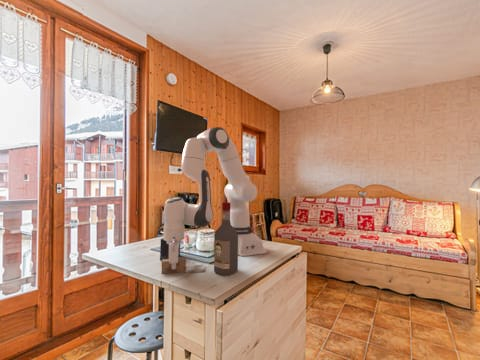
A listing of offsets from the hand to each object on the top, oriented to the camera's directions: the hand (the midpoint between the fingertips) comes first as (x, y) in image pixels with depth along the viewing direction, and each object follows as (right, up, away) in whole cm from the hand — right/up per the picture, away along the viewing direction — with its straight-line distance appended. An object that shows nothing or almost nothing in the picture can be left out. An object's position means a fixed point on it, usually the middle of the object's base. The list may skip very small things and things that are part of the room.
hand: (173, 266), depth 107 cm
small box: (-7, -2, +19) cm, 20 cm away
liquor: (+23, -2, 0) cm, 23 cm away
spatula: (+4, -2, +1) cm, 4 cm away
